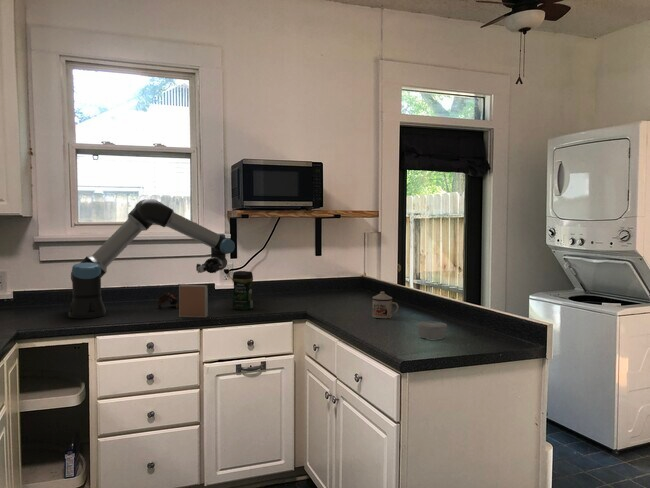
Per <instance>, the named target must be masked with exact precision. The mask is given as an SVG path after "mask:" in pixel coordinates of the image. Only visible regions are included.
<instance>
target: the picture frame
mask: <svg viewBox="0 0 650 488" xmlns="http://www.w3.org/2000/svg"><path fill="white" fill-rule="evenodd" d="M208 294H209V293H208V284H206V285H205V284H201V285H200V284H181V285H180V284H179V285H178V305H179V307H178V308H179V309H178V310H179V313H178V314H179V318H207V317H208V315H209V312H208V309H209V308H208V307H209V304H208V299H209V297H208Z"/></svg>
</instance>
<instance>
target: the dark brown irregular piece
mask: <svg viewBox="0 0 650 488" xmlns="http://www.w3.org/2000/svg"><path fill="white" fill-rule="evenodd" d="M166 301H167V302H169V303H170V305H172V306H173V305H174V306H175V309H178V308H179V301H178V299H177V296H176V294H175V293H170V292H168V293H165V294H163V295H162V296H160V297H159V298H158V299H157V300H156V302H157V306H158V308H161V306H162V305H166Z"/></svg>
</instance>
